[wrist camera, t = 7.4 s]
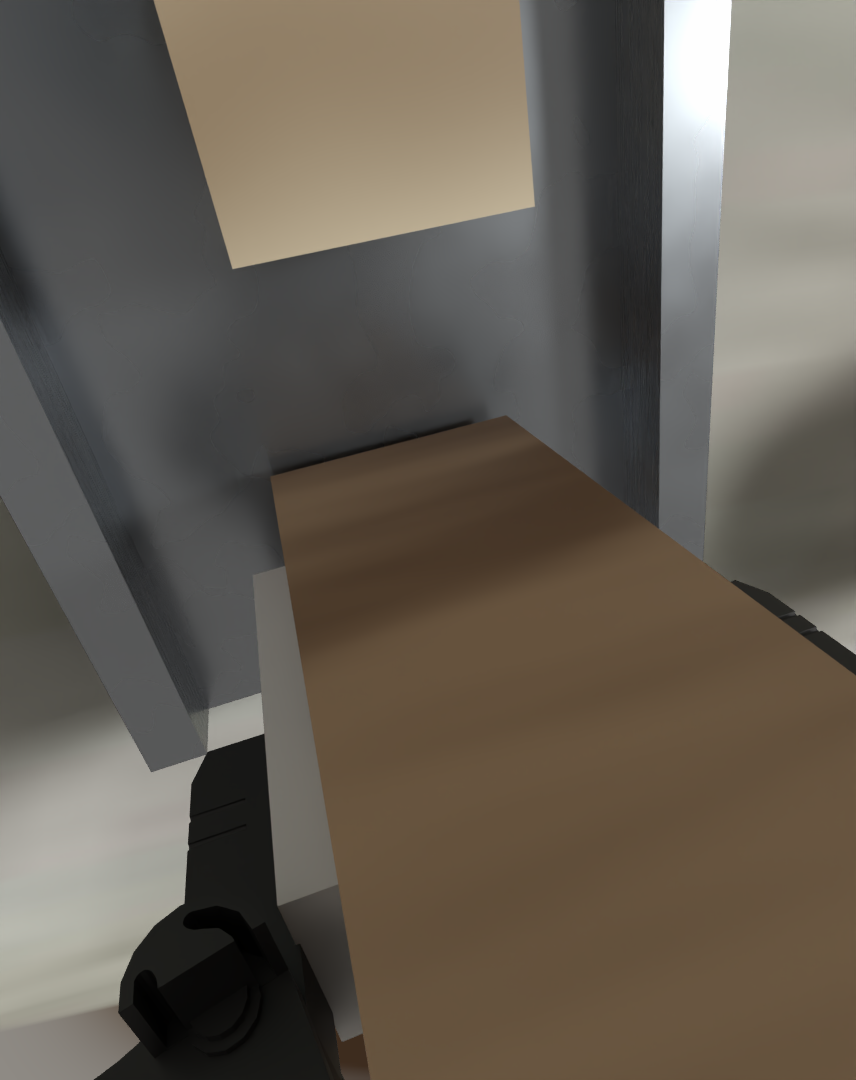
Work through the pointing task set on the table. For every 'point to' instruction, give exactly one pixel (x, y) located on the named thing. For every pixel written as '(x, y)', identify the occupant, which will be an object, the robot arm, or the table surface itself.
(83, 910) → the table surface
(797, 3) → the table surface
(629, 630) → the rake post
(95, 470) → the trough
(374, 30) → the tan cube
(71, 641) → the table surface
